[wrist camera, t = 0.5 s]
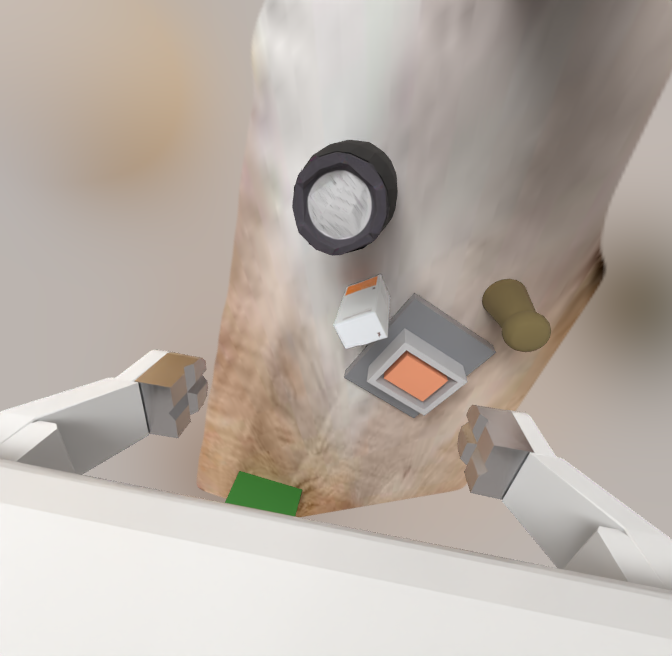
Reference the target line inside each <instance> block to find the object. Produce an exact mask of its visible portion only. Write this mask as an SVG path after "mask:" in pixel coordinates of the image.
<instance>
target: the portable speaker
mask: <svg viewBox="0 0 672 656" xmlns="http://www.w3.org/2000/svg"><path fill="white" fill-rule="evenodd" d="M396 199H397V177H396V172H395V169H394V167H393V164H392V162H391V160H390V159H389V158H388V156H387V155H386V154H385V153H384V152H383V151H381V150H380V149H379V148H377V147H376V146H374V145H373V144H371V143H369V142H363V141H355V140H346V141H342V142H338V143H334V144H330V145H328V146H327V147H325V148H323V149H322V150H320V151H319V152H317V153H316V154H314V155H313V156H312V157H311V158H310V160H309V161H308V163H307V164H306V165H305V167H304V169H303V170H301V172H300V173H299V175H298V178H297V181H296V184H295V186H294V197H293V212H294V216H295V221H296V225H297V228H298V231H299V233H300V234H301V235H302V236H303V237H304V238H305V239H306V240H307V241H308V242H309V244H310V245H312V246H313V247H314V248H315V249H316V250H319V251H321V252H324V253H327V254H329V255H342V254H344V253H348V252H352V251H355V250H359V249H362V248H364V247H366V246H367V245H368V244H370V243H372V242H373V241H374V240H375V239H376V238H377V237H378V235H379V234H380V233H381V231H382V230H383V229H384V228H385V227H386V225H387V224H388V223H389V221H390V220H391V219H392V216H393V213H394V211H395V207H396Z"/></svg>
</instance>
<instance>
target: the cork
mask: <svg viewBox="0 0 672 656" xmlns="http://www.w3.org/2000/svg"><path fill="white" fill-rule="evenodd" d="M482 303H483V306H484V308H485V309H486V310H487V311H488V313H489V314H490V315H491V316H492V317H493V318H494V320H495V321H496V322H497V323H498V324H499V325H500V326H501V328H502V336H503V339H504V341H505V342H506V343H507V345H508V346H510V347H511V348H513V349H515V350H517V351H522V352H530V351H534V350H537V349H539V348H541V347H542V346H543V345H545V344H546V343H547V341H548V340H549V338H550V334H551V328H550V324H549V322H548V321H547V320H546V318H545V317H544V316H542V315H540V314H539V313H537V312H536V311H535V309H534V306H533V304H532V302H531V299H530V297H529V295H528V292H527V290H526V288H525V286H524V285H523V284H522V283H521V282H519V281H517V280H512V279H505V280H500V281H497V282H495V283H494V284H492V285H491V286H489V287H488V289H487V290H486V291H485V293H484V295H483V299H482Z"/></svg>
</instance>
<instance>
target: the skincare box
mask: <svg viewBox="0 0 672 656" xmlns="http://www.w3.org/2000/svg"><path fill="white" fill-rule="evenodd" d="M389 308H390V295H389V292H388V290H387V287H386V285H385V283H384V280H383V278H382V275H381V274H380V275H377V276H375V277H372V278H370V279H367V280H364V281H361V282H358V283H356V284H353V285H350V286H347V287H346V290H345V293H344V296H343V299H342V302H341V304H340V307H339V310H338V313H337V316H336V319H335V322H334V324H333V326H334V328H335V330H336V332H337V334H338V336H339V337H340V339H341V341H342V343H343V345H344V347H345V349H349V348H352V347H356V346H359V345H365V344H368V343H371V342H374V341H377V340H381V339H384V338H387V337H388V324H389Z"/></svg>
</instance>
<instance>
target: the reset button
mask: <svg viewBox="0 0 672 656" xmlns="http://www.w3.org/2000/svg"><path fill="white" fill-rule="evenodd" d="M384 379H386V380H388V381H389V382H391V383H393V384H394V385H396V386H398V387H399V388H401V389H403V390H404V391H406V392H408V393H409V394H411V395H413V396H414V397H416V398H418V399H419V400H421V401H424V400H425V399H427V398H428V397H429V396H430V395H431V394H433V393H434V392H435V391H436V390H437V389H439V388H440V387H441V386H442V385H444V384H445V383H446V382H447V381H448V379H447V375H445V374H444V373H442V372H440V371H439V370H437V369H436V368H434V367H432V366H431V365H429V364H428V363H426V362H424V361H423V360H421V359H420V358H418V357H417V356H415V355H413V354H412V353H410V352H409V351H407V350H406V351H405V352H404V353H403V354H402V355H401V356H400V357H399V358H398V359H397V360H396V361H395V362H394V363H393V364H392V365H391V366H390V367H389V368H388V369H387V370H386V371H385V372H384Z"/></svg>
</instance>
